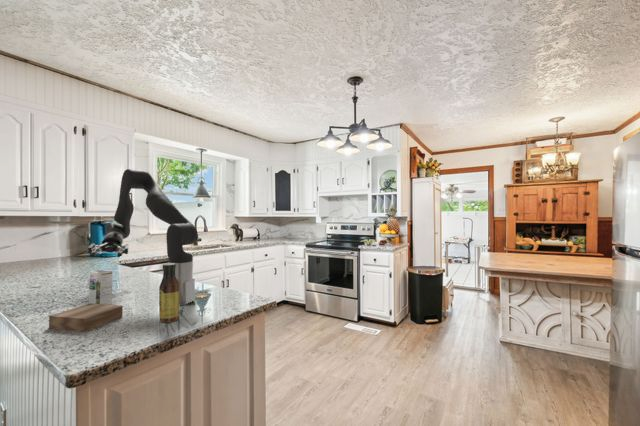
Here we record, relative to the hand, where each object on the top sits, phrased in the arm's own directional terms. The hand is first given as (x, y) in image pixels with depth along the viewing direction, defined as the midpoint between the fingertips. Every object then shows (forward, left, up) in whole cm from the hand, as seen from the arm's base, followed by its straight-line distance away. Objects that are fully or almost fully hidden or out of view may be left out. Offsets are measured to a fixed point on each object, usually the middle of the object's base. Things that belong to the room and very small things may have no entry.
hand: (106, 255), depth 125 cm
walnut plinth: (-14, +20, -20) cm, 32 cm away
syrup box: (-3, +5, -20) cm, 21 cm away
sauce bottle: (-40, +13, -20) cm, 47 cm away
